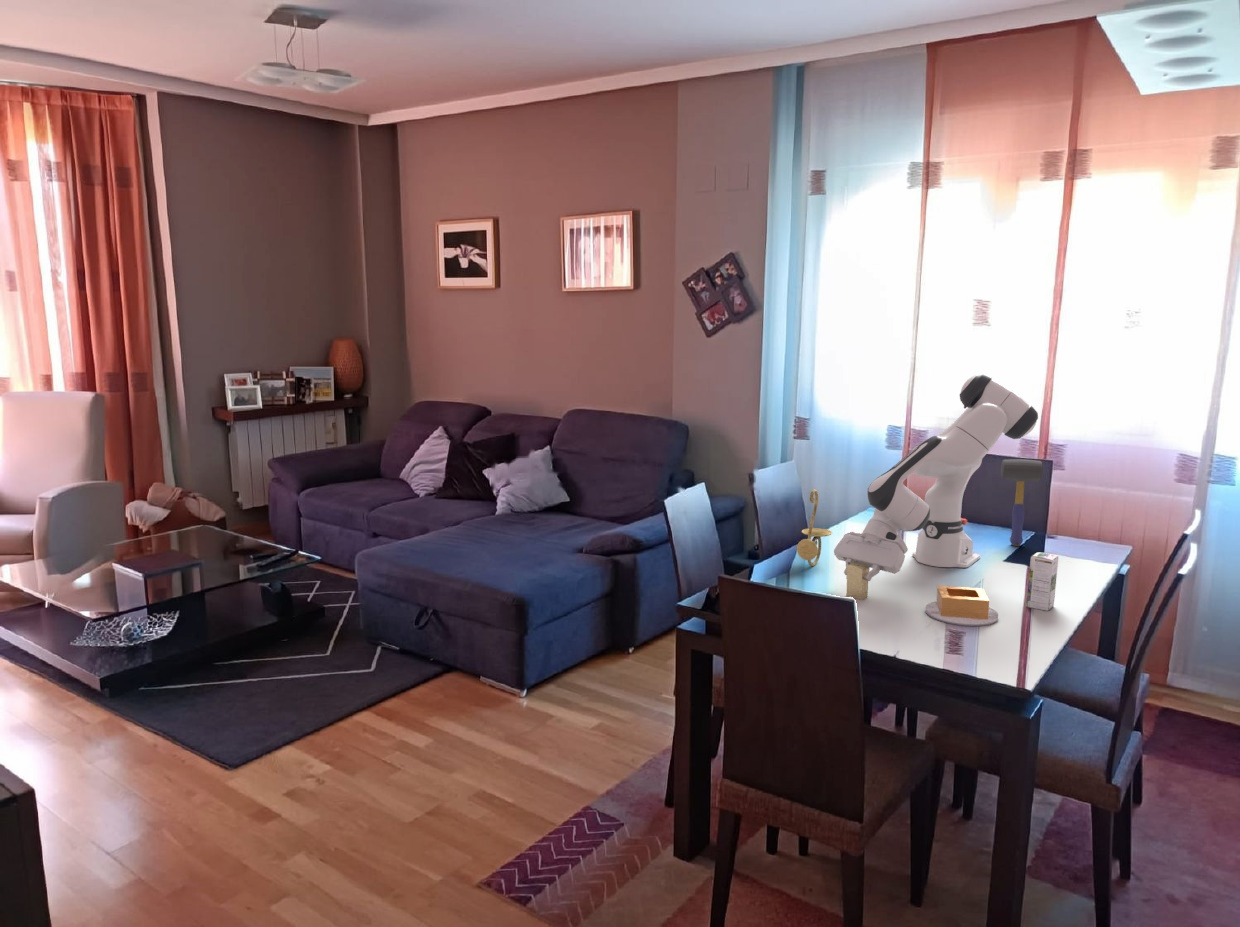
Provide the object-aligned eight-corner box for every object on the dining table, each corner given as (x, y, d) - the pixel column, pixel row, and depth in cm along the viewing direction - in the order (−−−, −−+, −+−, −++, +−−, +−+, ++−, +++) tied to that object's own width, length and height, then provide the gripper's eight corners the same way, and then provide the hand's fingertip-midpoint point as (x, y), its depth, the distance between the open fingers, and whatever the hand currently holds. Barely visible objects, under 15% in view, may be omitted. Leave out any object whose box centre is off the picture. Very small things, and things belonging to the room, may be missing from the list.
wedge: (853, 593, 252) (854, 563, 250) (868, 597, 248) (869, 566, 247) (845, 596, 249) (846, 565, 248) (860, 600, 246) (862, 569, 244)
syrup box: (1031, 601, 244) (1035, 551, 241) (1054, 606, 240) (1058, 554, 238) (1025, 607, 239) (1029, 555, 237) (1049, 611, 236) (1053, 559, 233)
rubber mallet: (1033, 543, 304) (1040, 458, 299) (1037, 549, 297) (1044, 461, 292) (995, 541, 308) (1000, 456, 303) (997, 546, 301) (1004, 460, 296)
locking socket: (922, 601, 245) (923, 580, 243) (991, 606, 240) (993, 585, 239) (929, 623, 227) (930, 601, 226) (1003, 629, 223) (1005, 606, 222)
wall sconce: (821, 573, 271) (824, 494, 267) (791, 569, 276) (793, 491, 271) (834, 562, 283) (837, 486, 278) (806, 558, 288) (808, 483, 283)
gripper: (842, 524, 258) (821, 563, 253) (905, 537, 243) (883, 579, 238) (851, 536, 262) (830, 575, 257) (913, 550, 246) (892, 591, 242)
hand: (856, 577), depth 247 cm, fingers closed on wedge, 5 cm apart
